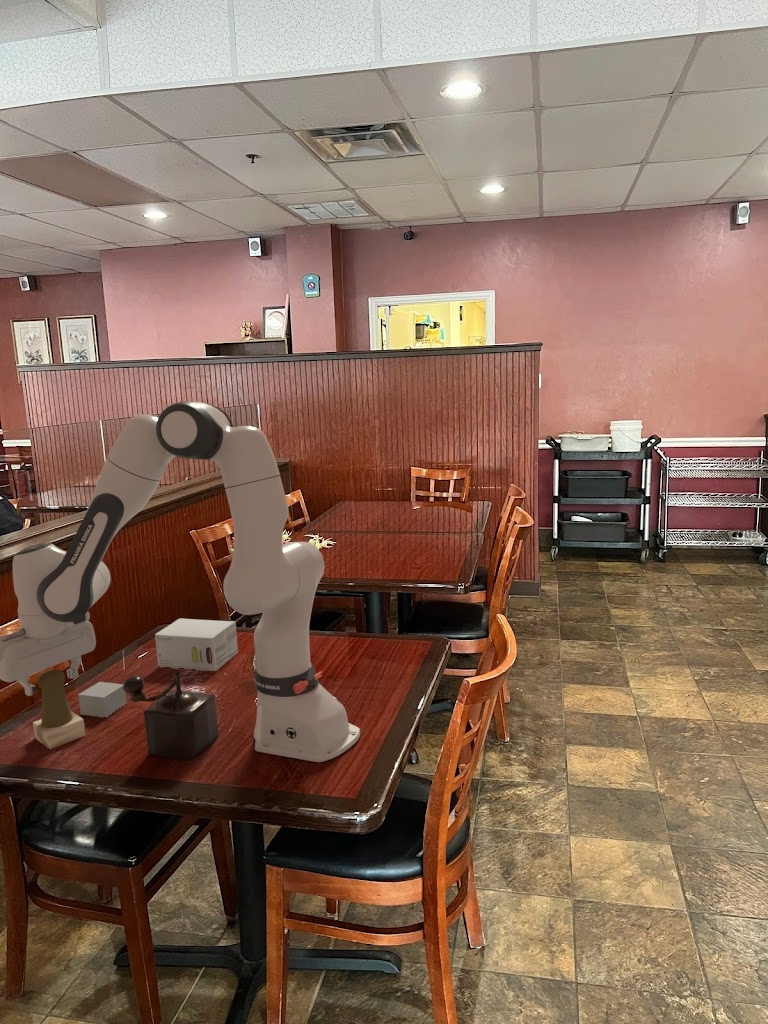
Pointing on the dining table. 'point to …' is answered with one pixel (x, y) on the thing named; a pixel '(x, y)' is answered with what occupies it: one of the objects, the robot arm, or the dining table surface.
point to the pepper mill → (176, 719)
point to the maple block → (59, 732)
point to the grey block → (102, 699)
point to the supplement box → (196, 644)
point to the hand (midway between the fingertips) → (52, 685)
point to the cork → (54, 699)
